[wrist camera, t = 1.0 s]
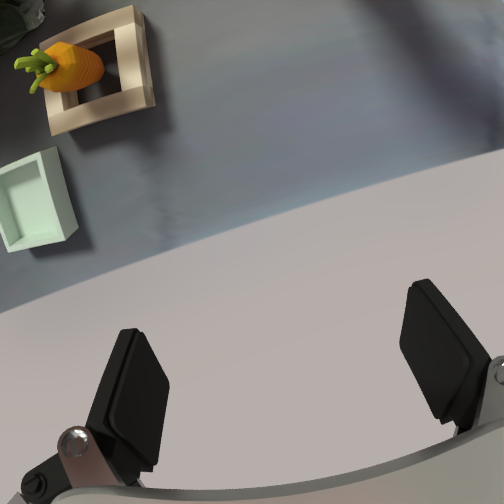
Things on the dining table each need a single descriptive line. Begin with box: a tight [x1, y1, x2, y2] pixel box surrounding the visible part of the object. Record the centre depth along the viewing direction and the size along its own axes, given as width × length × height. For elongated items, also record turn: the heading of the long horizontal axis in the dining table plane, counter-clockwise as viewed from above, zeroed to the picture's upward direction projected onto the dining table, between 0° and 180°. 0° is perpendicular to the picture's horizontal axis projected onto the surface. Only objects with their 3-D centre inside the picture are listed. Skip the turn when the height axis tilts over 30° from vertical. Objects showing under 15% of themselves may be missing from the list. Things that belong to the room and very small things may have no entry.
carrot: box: [14, 42, 105, 94], centre depth 22 cm, size 5×5×15 cm
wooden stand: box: [39, 5, 156, 136], centre depth 26 cm, size 12×12×4 cm
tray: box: [0, 145, 79, 252], centre depth 33 cm, size 12×12×4 cm
